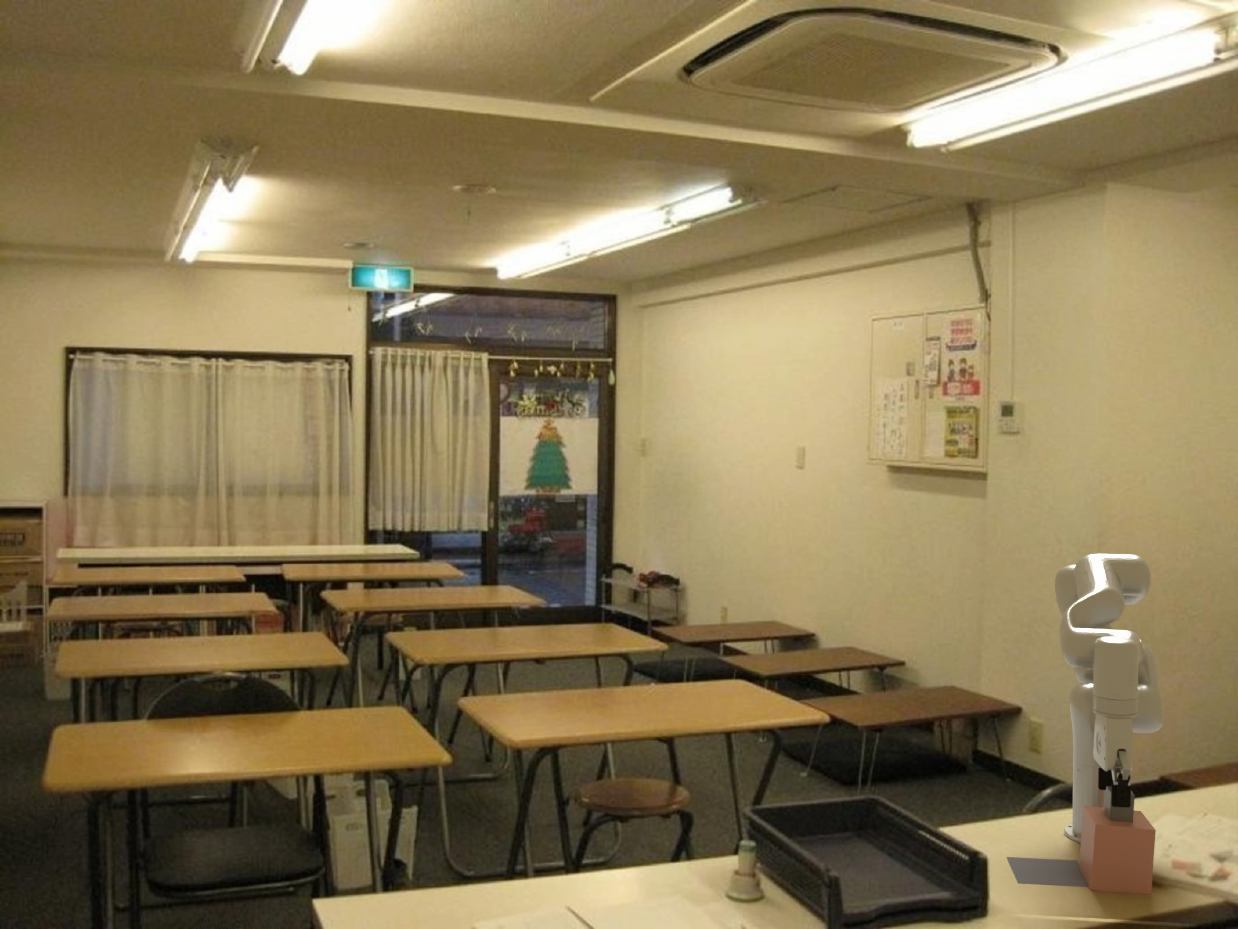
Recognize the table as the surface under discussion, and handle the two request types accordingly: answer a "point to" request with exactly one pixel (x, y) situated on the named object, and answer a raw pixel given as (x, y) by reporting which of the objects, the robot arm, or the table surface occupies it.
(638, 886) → the table surface
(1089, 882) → the cover
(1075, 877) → the mat
